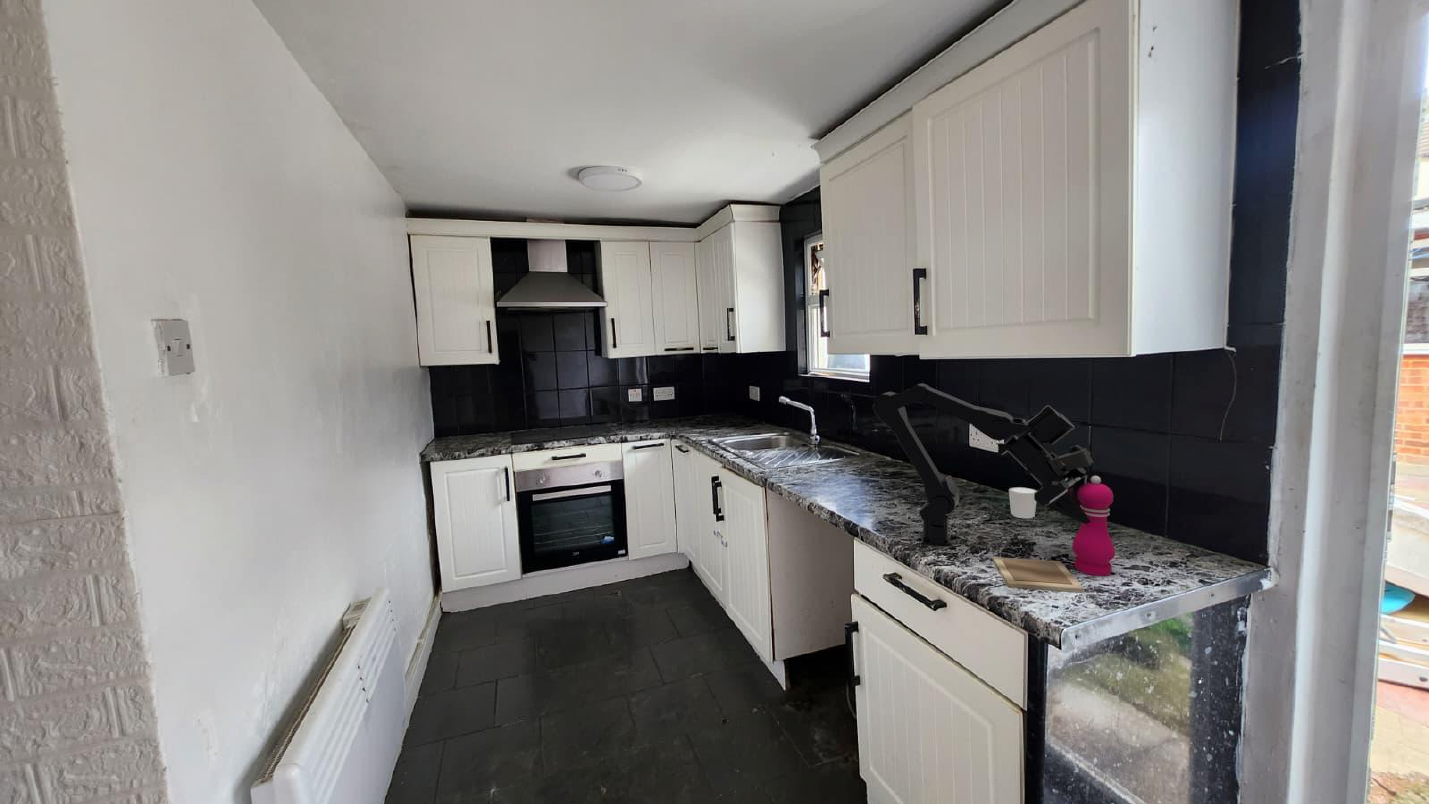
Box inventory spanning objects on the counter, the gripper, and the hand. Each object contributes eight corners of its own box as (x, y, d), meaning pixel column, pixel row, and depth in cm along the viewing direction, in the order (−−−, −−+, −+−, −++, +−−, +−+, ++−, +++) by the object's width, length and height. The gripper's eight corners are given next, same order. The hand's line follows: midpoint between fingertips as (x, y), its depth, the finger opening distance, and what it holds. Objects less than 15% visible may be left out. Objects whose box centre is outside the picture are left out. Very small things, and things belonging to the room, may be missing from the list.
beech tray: (992, 560, 117) (992, 556, 117) (1059, 564, 113) (1060, 560, 113) (1008, 587, 104) (1008, 582, 104) (1084, 592, 101) (1084, 587, 101)
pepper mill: (1096, 561, 114) (1099, 470, 112) (1123, 576, 107) (1127, 479, 105) (1063, 563, 114) (1066, 472, 112) (1088, 578, 107) (1091, 481, 104)
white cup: (1043, 518, 141) (1043, 493, 141) (1017, 519, 141) (1017, 494, 141) (1028, 510, 148) (1028, 486, 147) (1003, 511, 148) (1003, 487, 148)
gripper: (1053, 442, 105) (1121, 506, 98) (1075, 428, 118) (1137, 484, 111) (1009, 475, 111) (1070, 538, 104) (1035, 459, 124) (1091, 513, 117)
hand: (1094, 517), depth 109 cm, fingers open, 9 cm apart
